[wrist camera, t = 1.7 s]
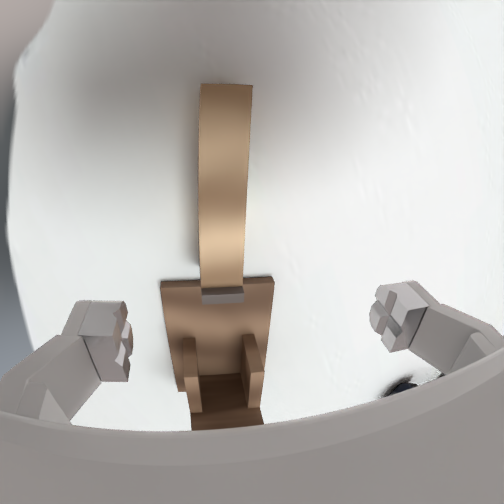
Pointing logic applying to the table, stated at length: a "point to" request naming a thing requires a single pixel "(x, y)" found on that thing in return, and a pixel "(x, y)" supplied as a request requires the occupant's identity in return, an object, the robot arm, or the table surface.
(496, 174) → the table surface
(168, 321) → the wooden chair
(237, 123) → the bed rail
